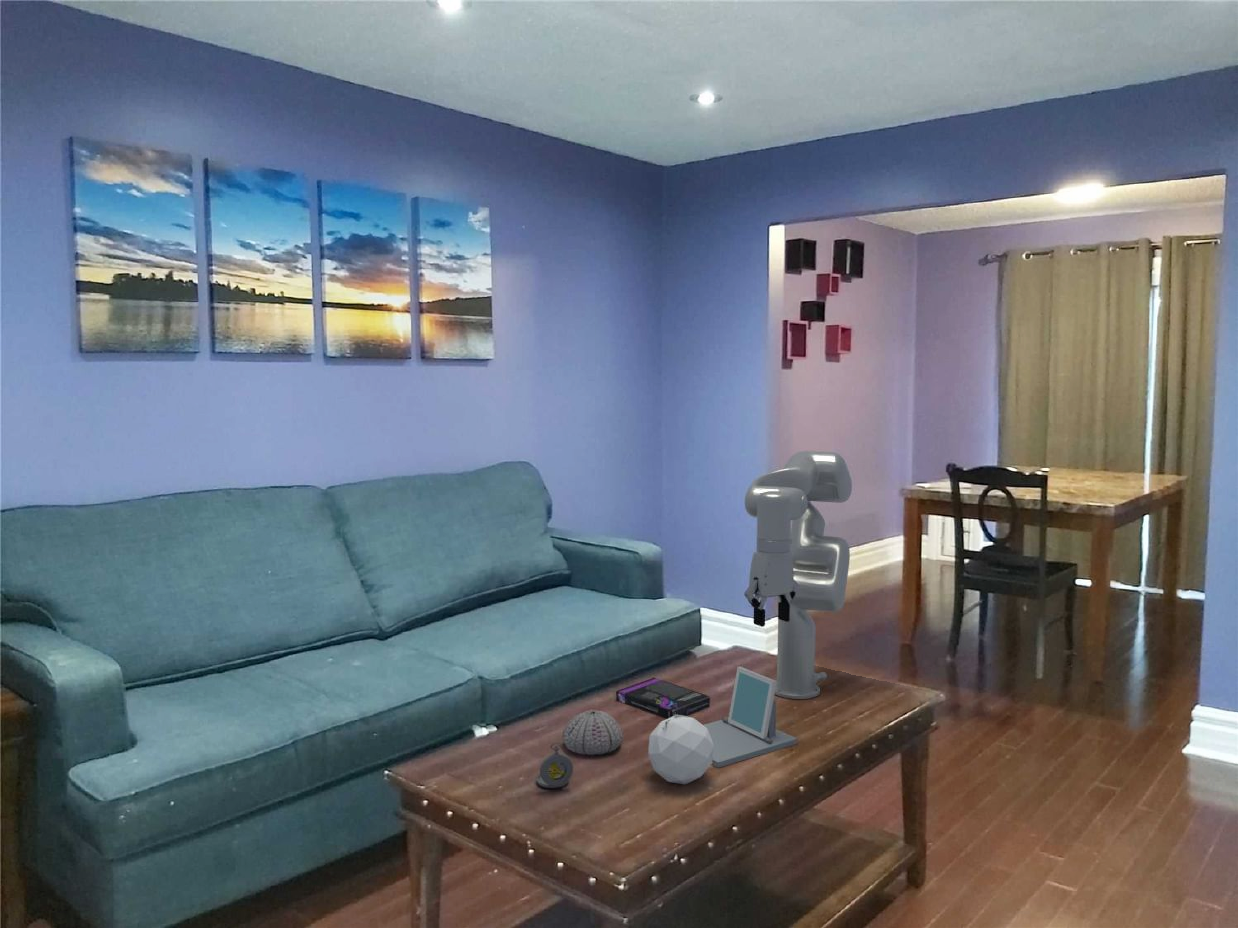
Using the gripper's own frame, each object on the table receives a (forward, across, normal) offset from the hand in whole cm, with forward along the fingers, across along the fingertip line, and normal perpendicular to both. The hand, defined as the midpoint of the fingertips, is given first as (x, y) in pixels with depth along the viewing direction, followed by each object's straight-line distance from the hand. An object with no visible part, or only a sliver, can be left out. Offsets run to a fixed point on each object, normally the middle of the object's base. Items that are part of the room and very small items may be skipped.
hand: (771, 622), depth 218 cm
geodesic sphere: (+26, +33, +9) cm, 43 cm away
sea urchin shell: (+26, +39, -15) cm, 49 cm away
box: (+27, +10, -28) cm, 40 cm away
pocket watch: (+26, +56, -3) cm, 62 cm away
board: (+26, +12, 0) cm, 28 cm away
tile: (+18, +5, 0) cm, 19 cm away
